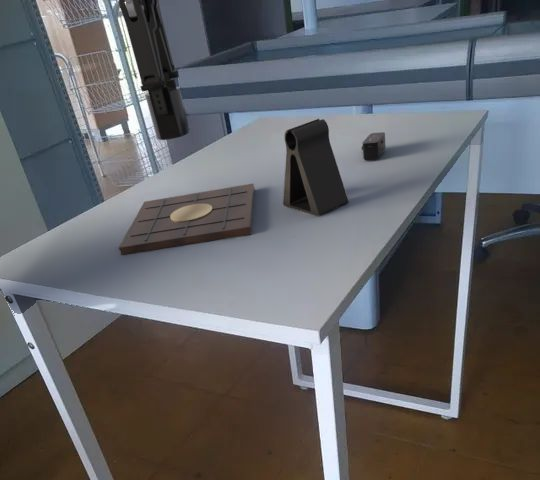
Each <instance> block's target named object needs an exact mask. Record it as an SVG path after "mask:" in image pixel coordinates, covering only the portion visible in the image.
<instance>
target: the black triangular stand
mask: <svg viewBox="0 0 540 480" xmlns="http://www.w3.org/2000/svg"><path fill="white" fill-rule="evenodd" d="M329 129H330V128H329V125H328V123H327V121H326V120H325V119H324V118H322V119H320V118H317V119H314V120H311V121H309V122H306V123H303V124H300V125H297V126H295V127H292V128H289V129H287V130H285V132H284V143H285V148H286V149H285V150H286V155H285V169H284V184H283V196H282V198H283V199H282V204H283V206H284V207H287V208H290V209H293V210H296V211H298V212H299V211H300V212H303V213H306V214H308V215H313V216H315V217H320V216H322V215H324V214H326V213H328V212H330V211H333V210H335V209H338V208H340V207H342V206H345V205H346V204H348V203H349V198H348V195H347V192H346V189H345V185H344V183H343V179H342V176H341V173H340V169H339V166H338V163H337V161H336V157H335V154H334V151H333V148H332V144H331V141H330V130H329Z"/></svg>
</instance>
